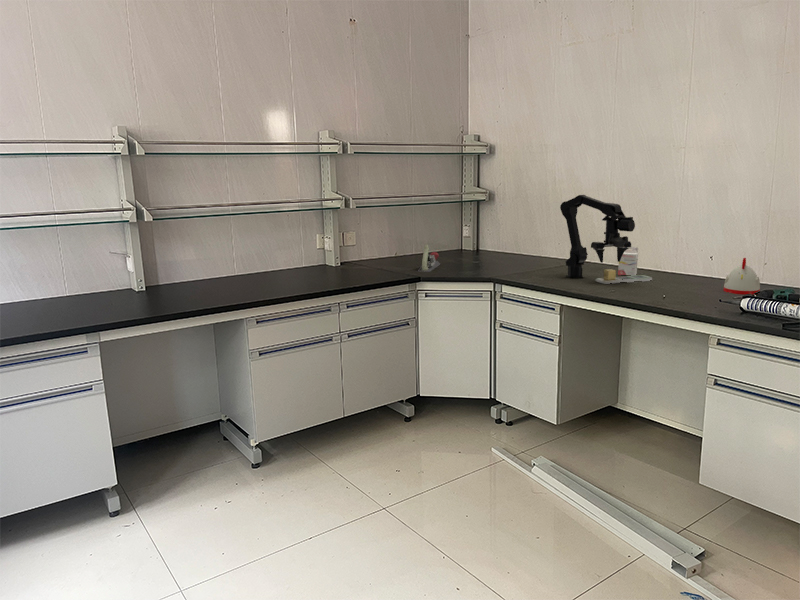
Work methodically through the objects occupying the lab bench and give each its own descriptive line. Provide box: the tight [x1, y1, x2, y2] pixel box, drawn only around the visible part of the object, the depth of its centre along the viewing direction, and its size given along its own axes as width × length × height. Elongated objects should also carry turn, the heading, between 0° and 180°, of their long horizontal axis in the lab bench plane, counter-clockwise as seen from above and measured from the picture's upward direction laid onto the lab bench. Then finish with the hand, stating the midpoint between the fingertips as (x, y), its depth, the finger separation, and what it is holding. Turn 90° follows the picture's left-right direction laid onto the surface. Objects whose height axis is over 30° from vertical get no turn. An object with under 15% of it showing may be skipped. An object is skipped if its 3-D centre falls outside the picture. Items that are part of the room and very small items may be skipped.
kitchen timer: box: [723, 257, 761, 295], centre depth 261 cm, size 14×14×15 cm
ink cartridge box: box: [617, 246, 639, 276], centre depth 307 cm, size 9×5×15 cm, turn 56°
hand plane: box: [417, 244, 441, 273], centre depth 347 cm, size 7×31×15 cm, turn 164°
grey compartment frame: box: [595, 274, 653, 285], centre depth 293 cm, size 26×8×2 cm, turn 102°
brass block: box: [603, 268, 617, 281], centre depth 291 cm, size 4×4×6 cm
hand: (610, 262), depth 289 cm, fingers open, 9 cm apart
